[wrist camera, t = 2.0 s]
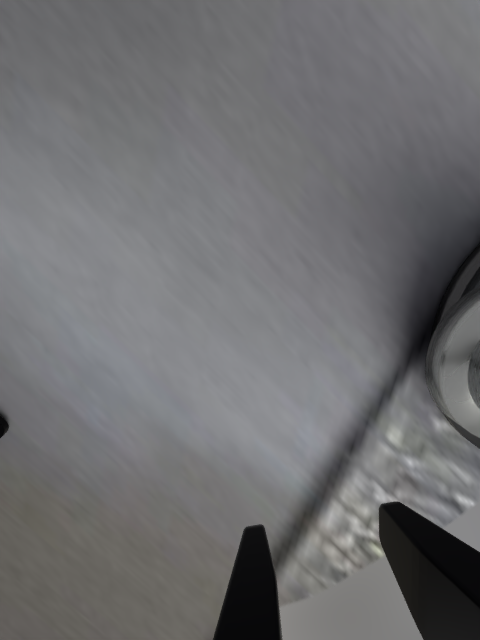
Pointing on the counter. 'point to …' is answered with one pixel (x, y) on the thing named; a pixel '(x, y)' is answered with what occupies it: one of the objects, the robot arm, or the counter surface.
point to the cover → (457, 363)
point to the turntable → (468, 277)
